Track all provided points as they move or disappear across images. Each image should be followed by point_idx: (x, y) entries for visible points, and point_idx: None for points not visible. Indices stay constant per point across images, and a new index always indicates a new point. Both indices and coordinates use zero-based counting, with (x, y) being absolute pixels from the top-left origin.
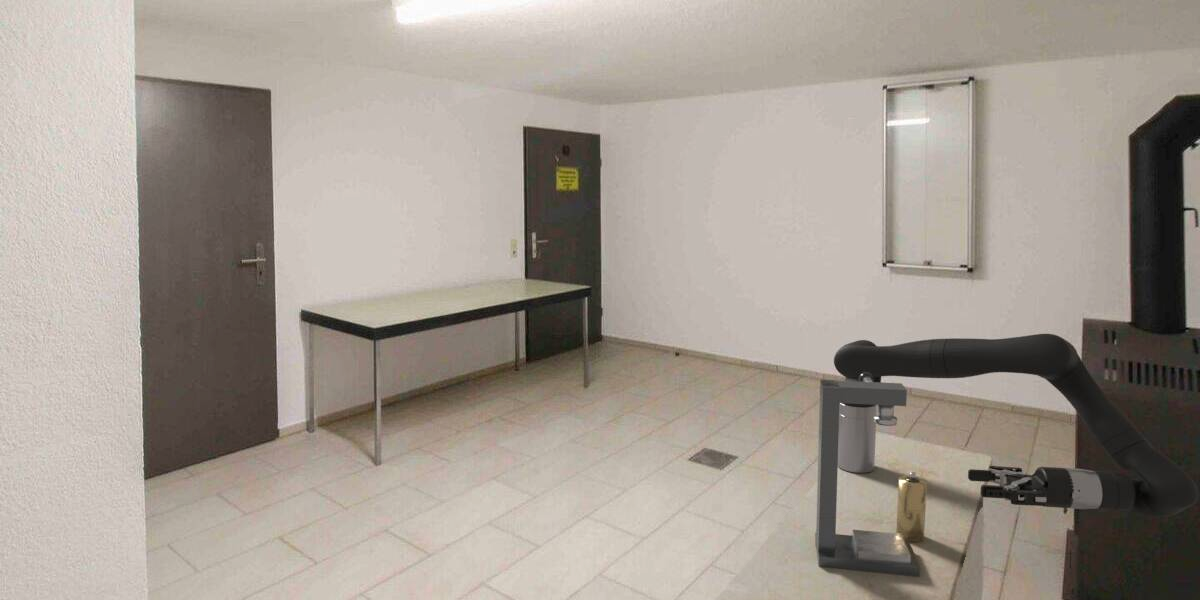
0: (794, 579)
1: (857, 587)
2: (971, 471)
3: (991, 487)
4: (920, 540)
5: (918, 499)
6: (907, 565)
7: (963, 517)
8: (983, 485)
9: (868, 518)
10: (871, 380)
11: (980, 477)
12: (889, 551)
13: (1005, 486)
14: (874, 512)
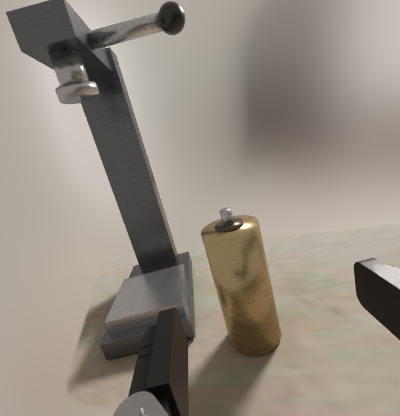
0: (116, 271)
1: (94, 307)
2: (361, 267)
3: (154, 338)
4: (237, 347)
5: (210, 265)
6: (106, 331)
7: None
8: (167, 309)
9: (297, 279)
10: (133, 19)
11: (395, 318)
12: (121, 301)
13: (151, 399)
14: (331, 280)
